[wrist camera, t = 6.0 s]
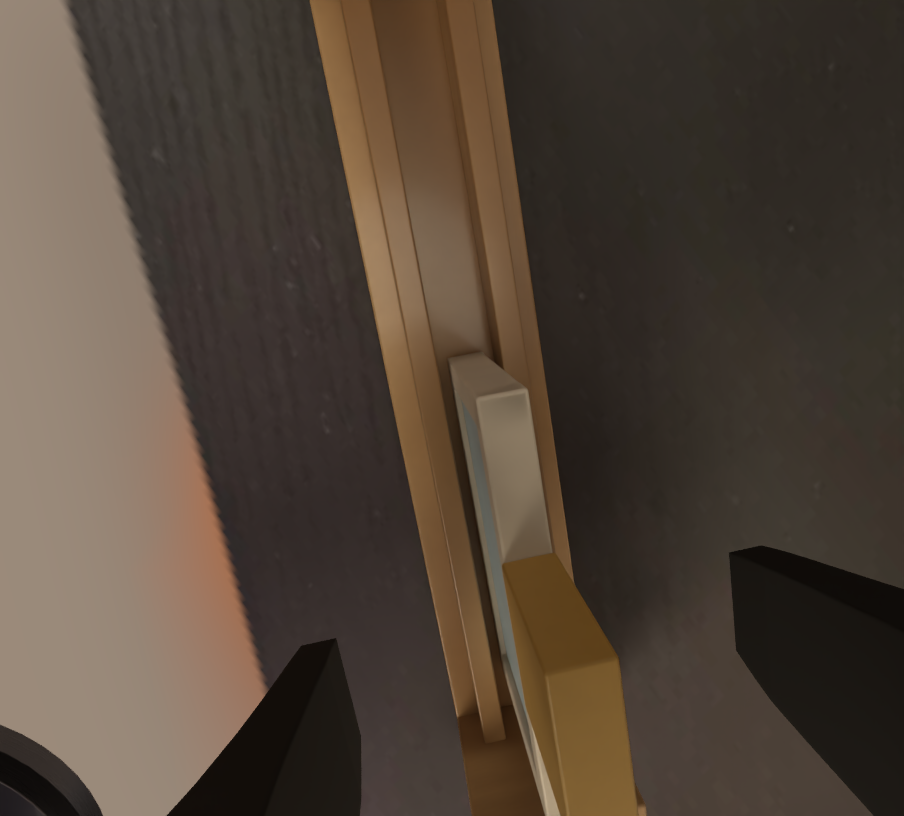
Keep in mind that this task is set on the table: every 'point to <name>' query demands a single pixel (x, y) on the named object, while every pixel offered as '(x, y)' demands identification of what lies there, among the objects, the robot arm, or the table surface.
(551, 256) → the table surface
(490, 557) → the window pane
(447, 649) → the wooden rack
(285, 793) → the robot arm
